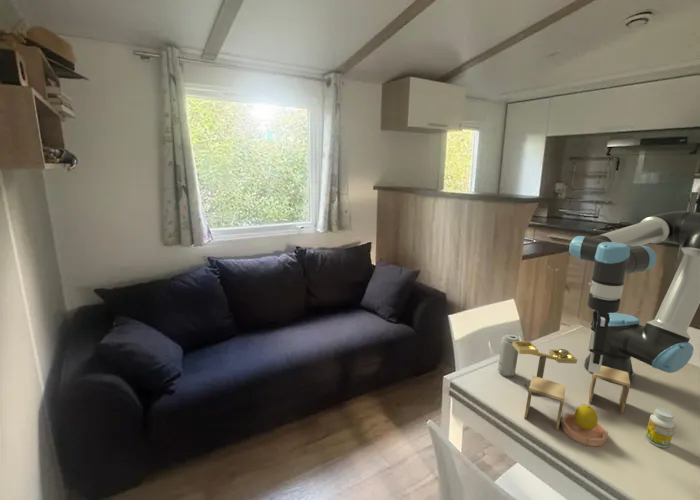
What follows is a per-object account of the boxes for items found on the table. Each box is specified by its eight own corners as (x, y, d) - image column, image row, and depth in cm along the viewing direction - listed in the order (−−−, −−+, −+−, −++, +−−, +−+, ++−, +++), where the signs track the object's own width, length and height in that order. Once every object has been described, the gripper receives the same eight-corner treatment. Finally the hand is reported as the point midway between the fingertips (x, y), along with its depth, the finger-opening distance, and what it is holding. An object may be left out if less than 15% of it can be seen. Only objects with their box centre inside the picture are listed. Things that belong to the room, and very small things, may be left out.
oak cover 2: (621, 401, 121) (628, 372, 119) (623, 414, 115) (630, 384, 112) (588, 391, 126) (594, 363, 123) (588, 403, 119) (595, 374, 117)
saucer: (590, 420, 111) (591, 414, 111) (614, 447, 101) (616, 441, 100) (554, 418, 112) (555, 412, 111) (574, 445, 101) (576, 439, 100)
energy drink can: (498, 367, 140) (503, 331, 136) (515, 371, 137) (521, 335, 133) (496, 374, 134) (501, 337, 131) (513, 379, 132) (519, 342, 128)
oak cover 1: (559, 415, 113) (565, 385, 110) (558, 431, 107) (564, 399, 104) (527, 404, 118) (532, 375, 115) (524, 418, 111) (529, 387, 109)
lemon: (589, 424, 108) (594, 401, 106) (598, 437, 103) (603, 413, 101) (569, 421, 109) (574, 398, 107) (576, 434, 104) (581, 410, 102)
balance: (560, 386, 128) (568, 343, 124) (569, 396, 122) (578, 352, 118) (506, 383, 129) (512, 340, 125) (513, 394, 123) (520, 349, 119)
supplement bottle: (669, 451, 100) (677, 421, 98) (644, 441, 103) (652, 412, 101) (668, 440, 104) (676, 411, 102) (645, 431, 107) (652, 403, 105)
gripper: (588, 281, 117) (579, 340, 122) (590, 308, 96) (578, 378, 102) (617, 285, 113) (605, 346, 118) (625, 314, 92) (610, 386, 98)
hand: (593, 361), depth 110 cm, fingers open, 13 cm apart
